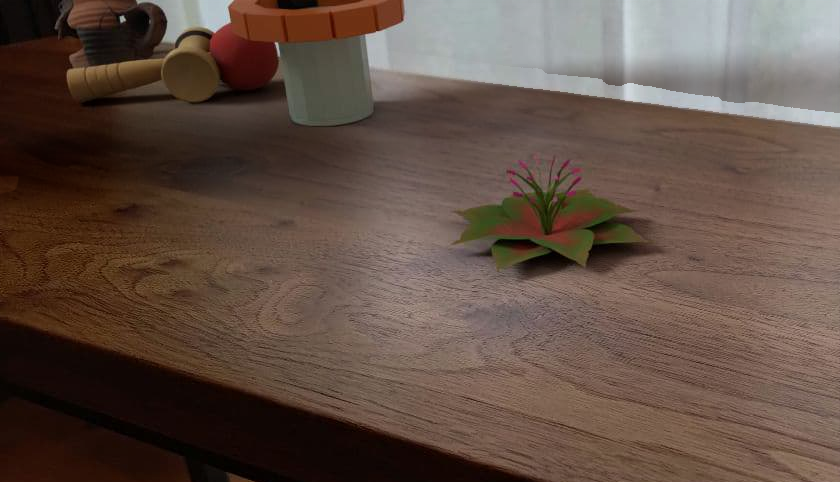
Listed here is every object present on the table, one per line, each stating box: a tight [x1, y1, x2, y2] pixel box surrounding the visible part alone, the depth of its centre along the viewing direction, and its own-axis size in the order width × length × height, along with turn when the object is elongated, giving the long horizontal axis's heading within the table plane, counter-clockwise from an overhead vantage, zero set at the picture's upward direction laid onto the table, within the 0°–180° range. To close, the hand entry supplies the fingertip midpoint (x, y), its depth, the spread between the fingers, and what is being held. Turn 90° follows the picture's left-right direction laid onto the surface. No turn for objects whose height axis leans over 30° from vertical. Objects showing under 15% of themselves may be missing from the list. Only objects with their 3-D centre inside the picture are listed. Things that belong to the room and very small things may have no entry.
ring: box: [227, 0, 406, 44], centre depth 78 cm, size 13×13×2 cm
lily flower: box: [450, 154, 650, 272], centre depth 57 cm, size 12×12×5 cm
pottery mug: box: [54, 0, 168, 69], centre depth 100 cm, size 12×10×8 cm
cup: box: [277, 6, 375, 127], centre depth 80 cm, size 7×7×8 cm
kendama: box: [66, 22, 280, 104], centre depth 88 cm, size 8×6×18 cm
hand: (292, 10), depth 83 cm, fingers closed on ring, 2 cm apart
